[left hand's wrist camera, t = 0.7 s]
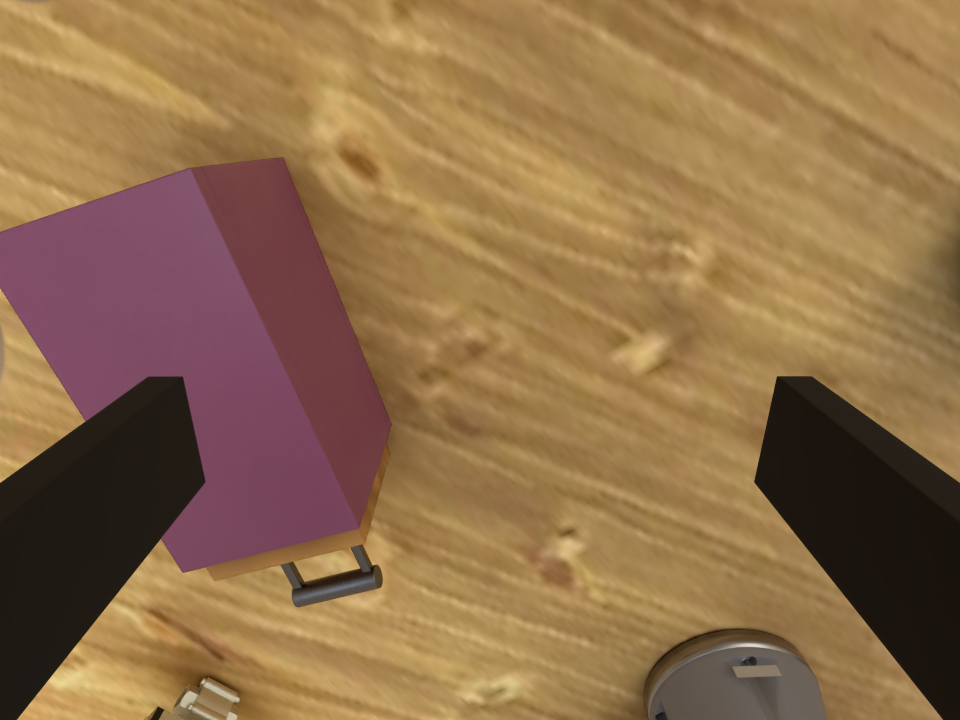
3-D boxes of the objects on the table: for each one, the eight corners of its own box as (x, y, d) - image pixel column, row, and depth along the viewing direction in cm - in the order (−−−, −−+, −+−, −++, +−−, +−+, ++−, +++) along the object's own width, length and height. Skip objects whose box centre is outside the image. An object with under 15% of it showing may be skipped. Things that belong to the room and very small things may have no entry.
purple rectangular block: (391, 424, 42) (359, 529, 31) (259, 460, 43) (182, 573, 32) (282, 157, 35) (189, 167, 24) (127, 208, 36) (-31, 242, 25)
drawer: (417, 518, 44) (401, 620, 35) (304, 546, 45) (258, 653, 36) (289, 211, 35) (221, 239, 26) (151, 255, 36) (38, 297, 27)
